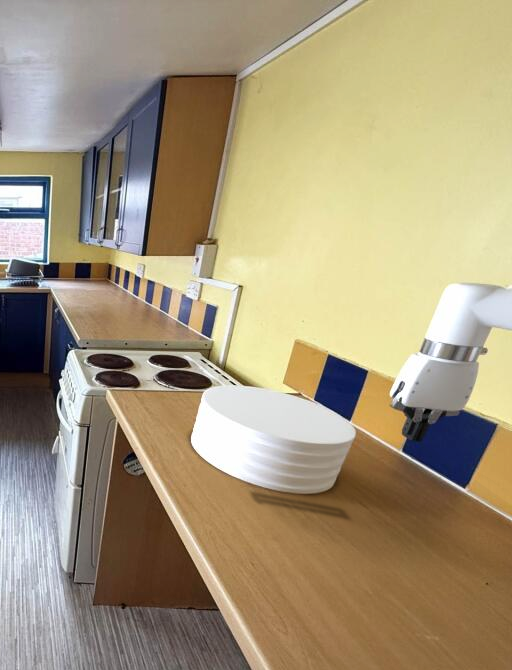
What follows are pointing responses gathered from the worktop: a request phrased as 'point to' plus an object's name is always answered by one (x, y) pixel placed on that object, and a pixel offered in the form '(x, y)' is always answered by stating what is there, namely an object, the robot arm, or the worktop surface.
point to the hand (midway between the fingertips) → (410, 437)
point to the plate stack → (272, 438)
